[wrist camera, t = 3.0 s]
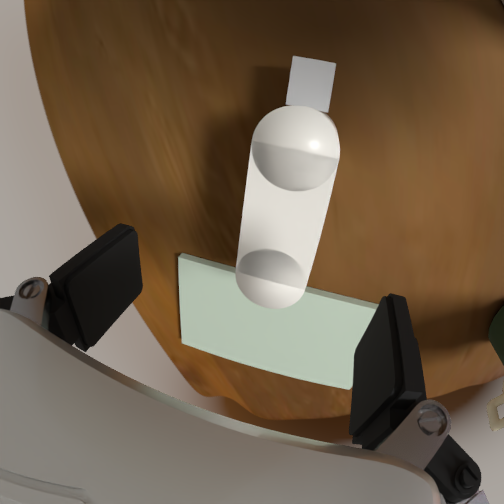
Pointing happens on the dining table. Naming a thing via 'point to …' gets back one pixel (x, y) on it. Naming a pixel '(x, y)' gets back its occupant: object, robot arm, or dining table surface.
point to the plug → (288, 189)
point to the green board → (271, 325)
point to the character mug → (500, 336)
